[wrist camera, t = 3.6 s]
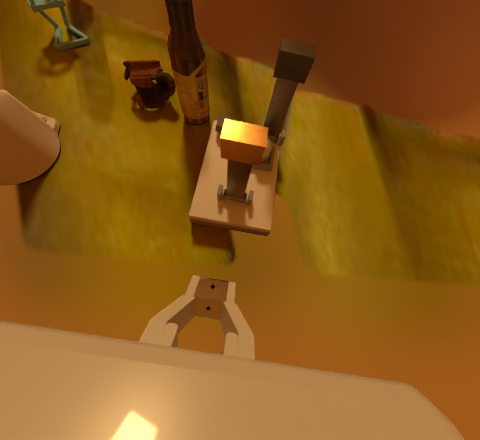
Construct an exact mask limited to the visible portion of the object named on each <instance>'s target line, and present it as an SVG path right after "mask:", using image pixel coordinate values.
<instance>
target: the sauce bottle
mask: <svg viewBox="0 0 480 440" xmlns="http://www.w3.org/2000/svg"><path fill="white" fill-rule="evenodd" d="M165 2H166V7H167V12H168V16H169V24H170V27H171V29H170V34H169V36H168V51H169V56H170V59H171V67H172V71H173V75H174V79H175V83H176V87H177V92H178V96H179V100H180V104H181V108H182V112H183V114H184V117H185V119H186V120H187V121H188V122H189V123H191V124H195V125H200V124H203V123H205V122H206V121H207V120H208V118H209V111H210V108H209V95H208V82H207V69H206V57H205V53H204V50H203V47H202V44H201V41H200V39H199V36H198V33H197V30H196V27H195V22H194V14H193V5H192V0H165Z"/></svg>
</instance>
